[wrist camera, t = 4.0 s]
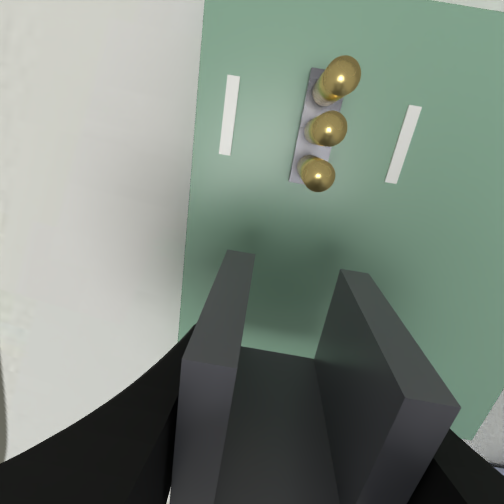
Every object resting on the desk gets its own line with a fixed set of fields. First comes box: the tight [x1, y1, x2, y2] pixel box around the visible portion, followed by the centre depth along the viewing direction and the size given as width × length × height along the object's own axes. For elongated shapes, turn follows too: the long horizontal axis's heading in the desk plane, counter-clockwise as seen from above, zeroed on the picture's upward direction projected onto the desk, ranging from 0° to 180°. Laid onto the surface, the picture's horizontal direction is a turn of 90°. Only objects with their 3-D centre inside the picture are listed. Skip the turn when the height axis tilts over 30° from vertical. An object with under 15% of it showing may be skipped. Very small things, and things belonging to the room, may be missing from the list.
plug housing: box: [170, 249, 461, 504], centre depth 9 cm, size 6×5×6 cm
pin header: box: [288, 55, 361, 192], centre depth 11 cm, size 4×1×4 cm, turn 171°
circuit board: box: [178, 0, 504, 440], centre depth 15 cm, size 20×18×1 cm
